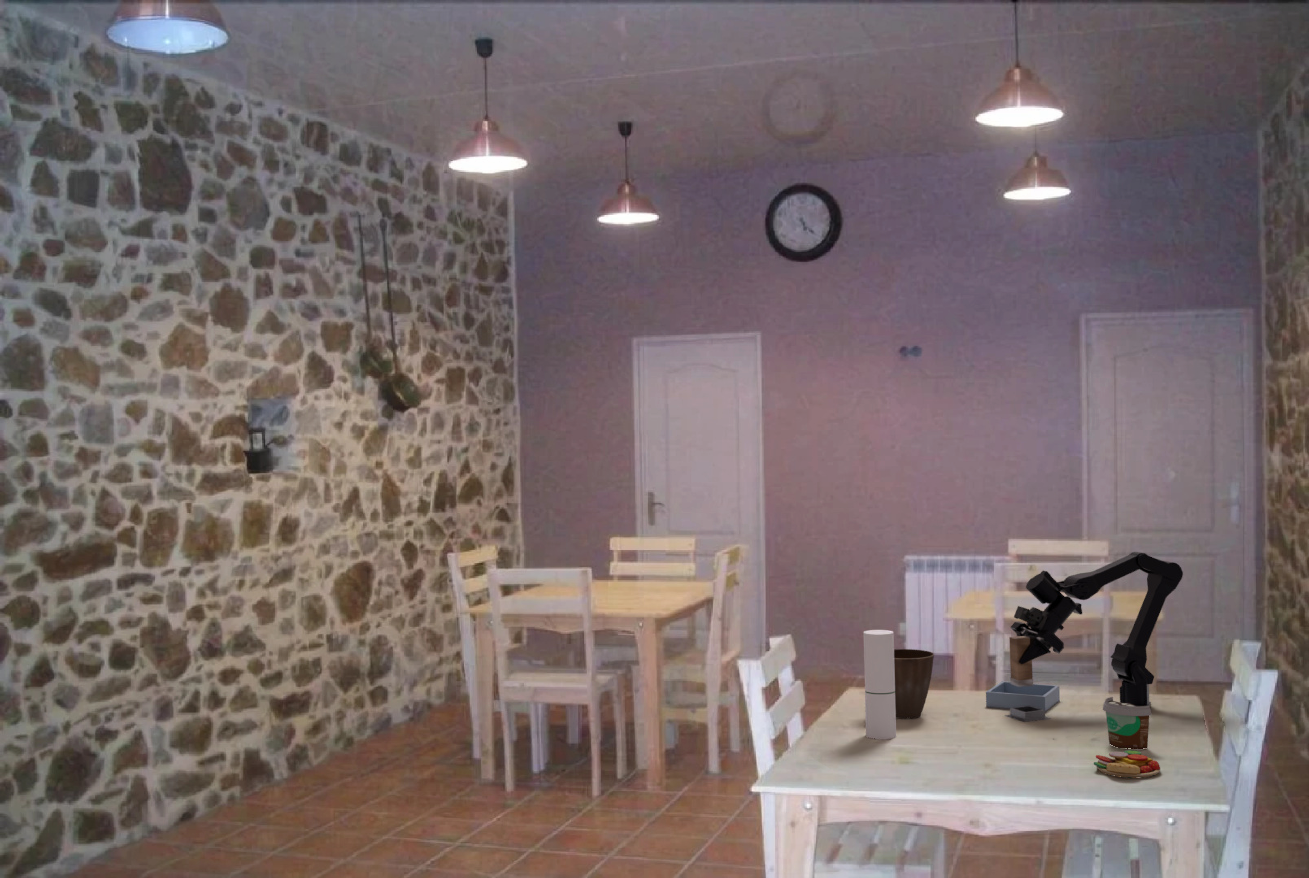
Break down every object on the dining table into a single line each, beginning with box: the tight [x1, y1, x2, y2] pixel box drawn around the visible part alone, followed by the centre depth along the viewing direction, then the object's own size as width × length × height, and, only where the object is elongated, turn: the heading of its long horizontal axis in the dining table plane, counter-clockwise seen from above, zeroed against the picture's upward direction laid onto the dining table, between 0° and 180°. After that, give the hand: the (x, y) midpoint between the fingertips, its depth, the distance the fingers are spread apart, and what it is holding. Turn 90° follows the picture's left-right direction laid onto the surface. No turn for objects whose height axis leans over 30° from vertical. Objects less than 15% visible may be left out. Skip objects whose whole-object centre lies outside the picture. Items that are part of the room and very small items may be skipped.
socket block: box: [1004, 706, 1052, 723], centre depth 324 cm, size 8×8×3 cm
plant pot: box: [894, 648, 935, 719], centre depth 332 cm, size 15×15×16 cm
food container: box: [1102, 696, 1152, 750], centre depth 295 cm, size 12×6×10 cm, turn 25°
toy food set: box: [1093, 749, 1161, 779], centre depth 275 cm, size 13×13×3 cm
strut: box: [1009, 636, 1034, 687], centre depth 331 cm, size 4×4×12 cm
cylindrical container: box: [862, 629, 897, 740], centre depth 311 cm, size 7×7×25 cm
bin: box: [985, 681, 1061, 713], centre depth 340 cm, size 15×15×4 cm
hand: (1016, 661), depth 330 cm, fingers closed on strut, 4 cm apart
